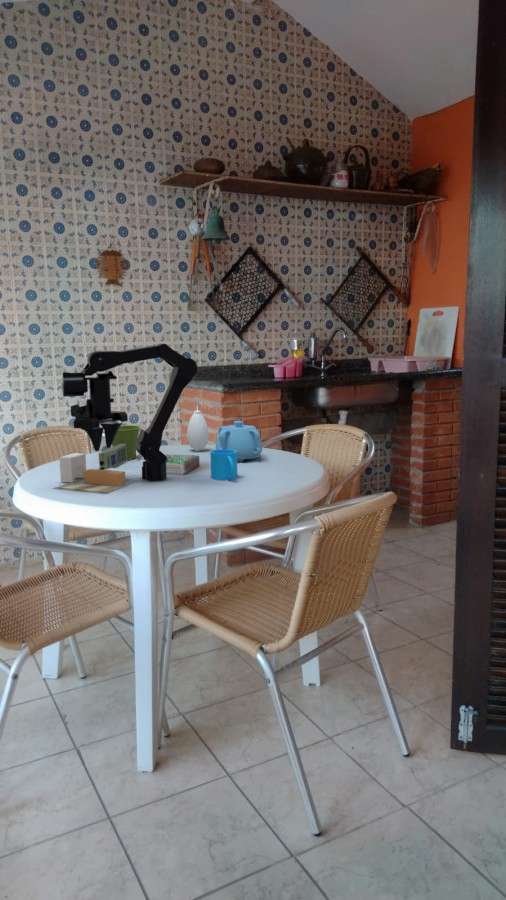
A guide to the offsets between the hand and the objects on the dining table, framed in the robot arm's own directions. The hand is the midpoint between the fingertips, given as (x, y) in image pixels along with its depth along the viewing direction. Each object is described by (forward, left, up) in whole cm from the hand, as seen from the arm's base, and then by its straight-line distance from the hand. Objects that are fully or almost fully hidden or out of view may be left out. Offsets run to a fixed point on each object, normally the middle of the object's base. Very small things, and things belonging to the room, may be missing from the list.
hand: (102, 449), depth 187 cm
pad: (0, +7, -10) cm, 12 cm away
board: (+1, +2, -11) cm, 11 cm away
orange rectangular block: (0, 0, -10) cm, 10 cm away
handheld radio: (+14, -24, -12) cm, 30 cm away
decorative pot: (-20, -53, -11) cm, 58 cm away
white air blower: (+1, -62, -11) cm, 63 cm away
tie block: (+11, 0, -10) cm, 15 cm away
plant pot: (+19, -40, -11) cm, 46 cm away
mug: (-29, -22, -11) cm, 38 cm away
